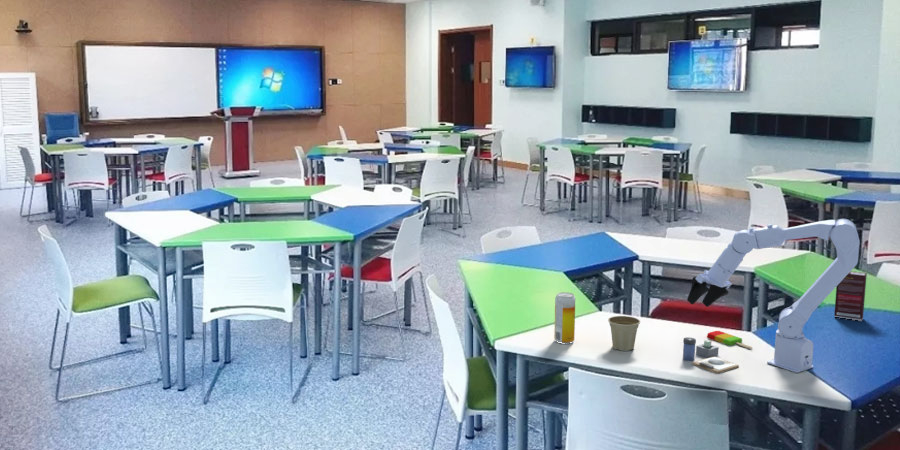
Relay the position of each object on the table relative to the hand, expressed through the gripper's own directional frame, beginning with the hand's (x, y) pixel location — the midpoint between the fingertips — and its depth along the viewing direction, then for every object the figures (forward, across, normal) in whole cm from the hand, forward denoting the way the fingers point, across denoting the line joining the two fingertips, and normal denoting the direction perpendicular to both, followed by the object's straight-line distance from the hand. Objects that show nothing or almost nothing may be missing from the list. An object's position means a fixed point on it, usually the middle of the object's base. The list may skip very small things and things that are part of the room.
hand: (697, 303), depth 225 cm
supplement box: (-8, -71, +7) cm, 72 cm away
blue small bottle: (+13, +2, +10) cm, 16 cm away
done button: (+9, -5, +8) cm, 13 cm away
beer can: (+32, +19, -17) cm, 41 cm away
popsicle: (+9, -20, +6) cm, 22 cm away
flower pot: (+23, +9, -5) cm, 26 cm away
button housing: (+11, -5, +9) cm, 15 cm away
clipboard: (+9, +1, +16) cm, 19 cm away
